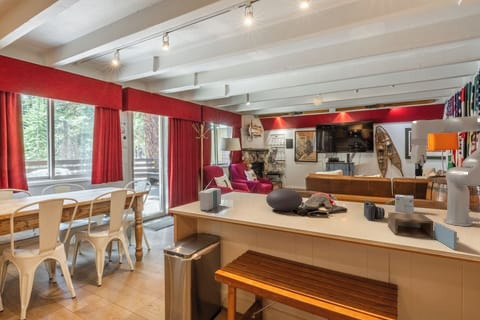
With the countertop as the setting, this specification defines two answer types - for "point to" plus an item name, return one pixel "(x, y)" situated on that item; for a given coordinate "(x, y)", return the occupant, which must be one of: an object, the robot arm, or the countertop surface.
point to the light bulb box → (404, 203)
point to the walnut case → (410, 225)
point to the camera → (372, 211)
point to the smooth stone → (284, 199)
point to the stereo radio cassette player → (210, 198)
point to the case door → (445, 235)
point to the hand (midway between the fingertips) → (418, 176)
